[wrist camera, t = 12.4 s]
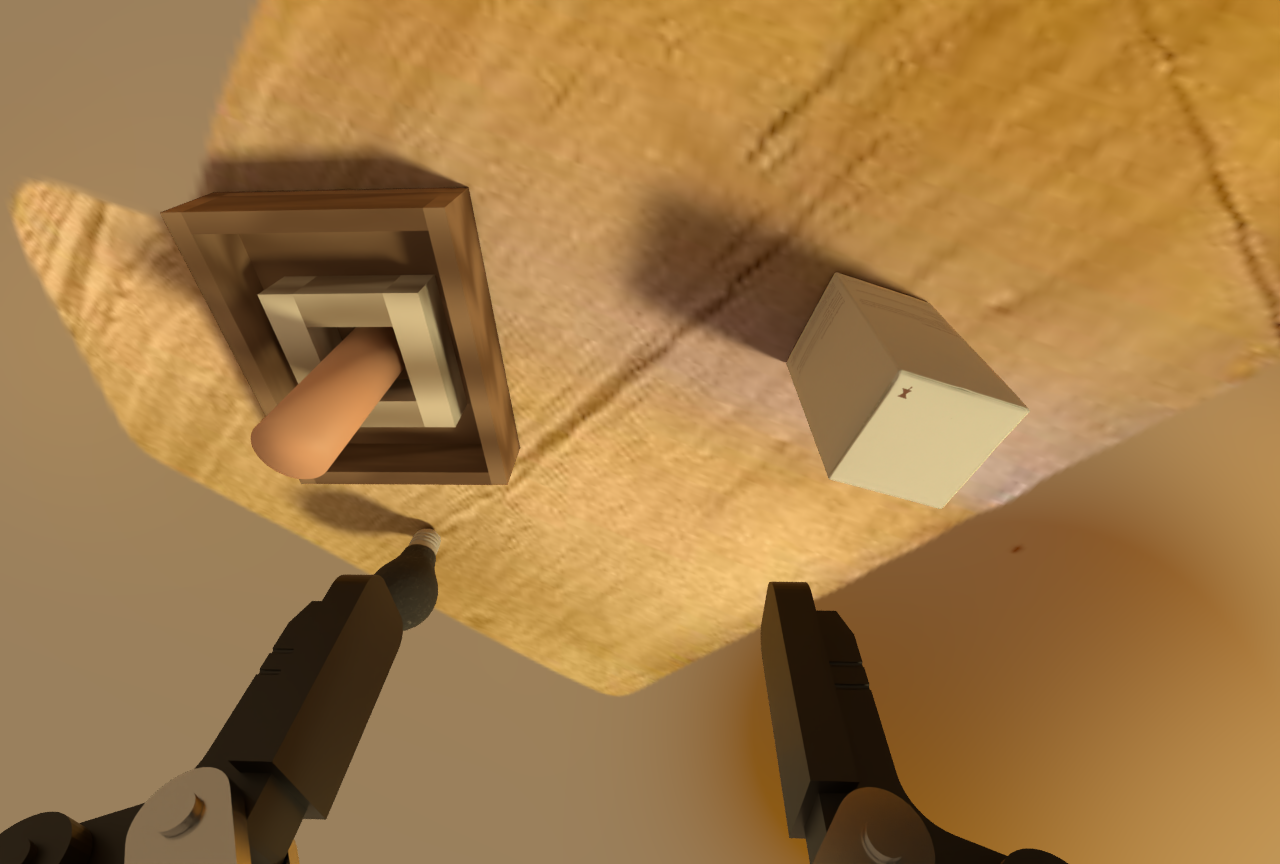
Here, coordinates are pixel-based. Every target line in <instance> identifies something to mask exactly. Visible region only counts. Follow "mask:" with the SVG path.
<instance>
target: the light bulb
mask: <svg viewBox="0 0 1280 864" xmlns="http://www.w3.org/2000/svg"><path fill="white" fill-rule="evenodd" d="M440 542H441V538H440V536H439V535H438V534H437V533H436V531H435V530H433V529H430V528H429V529H421V530H418V531H417V532H416V533H415V535H414V536H413V538H412V540H411V542H410V544H409V546H408V547H406V548H405V550H404V551H403V552H402V553H401V555H400V556H398V557H397V558H396V559H394V560H392V561H391V562H389V563H387V564H385V565H384V566H383V567H381V568H380V569H379V570H378V571H377V572H376V573H375V574H374V575H379V576H381V577H382V578H383V579H384V581H385V583H386V585H387V587H388V590H389V592H390V594H391V596H392V598H393V600H394V602H395V605H396V607H397V609H398V611H399V613H400V615H401V618H402V622H403V631H405V630H408V629H410V628H413V627H416V626H417V625H419V624H420V623H421V622H422V621H424V620H425V619H426V618H427V617H428V616H429V615H430V613H431V612H432V610H433V608H434V606H435V604H436V600H437V596H438V583H437V579H436V575H435V569H434V567H435V562H436V554H437V551H438V549H439V546H440Z"/></svg>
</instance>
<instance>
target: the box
mask: <svg viewBox="0 0 1280 864" xmlns="http://www.w3.org/2000/svg"><path fill="white" fill-rule="evenodd" d="M160 214H161V216H162V218H163V220H164V222H165V224H166V226H167V227H168V229H169V231H170V233H171V235H172V237H173V239H174V241H175V243H176V245H177V247H178V249H179V250H180V252H181V254H182V256H183V258H184V260H185V262H186V264H187V266H188V268H189V270H190V272H191V273H192V275H193V277H194V279H195V281H196V283H197V285H198V287H199V289H200V291H201V293H202V295H203V296H204V298H205V300H206V302H207V304H208V306H209V308H210V310H211V312H212V314H213V316H214V318H215V319H216V321H217V323H218V325H219V327H220V329H221V331H222V333H223V335H224V337H225V339H226V341H227V342H228V344H229V346H230V348H231V350H232V352H233V354H234V356H235V358H236V360H237V362H238V364H239V365H240V367H241V369H242V371H243V373H244V375H245V377H246V379H247V381H248V383H249V385H250V387H251V388H252V390H253V392H254V394H255V396H256V398H257V400H258V402H259V404H260V406H261V408H262V410H263V411H264V413H265V415H266V416H267V415H268V414H269V413H270V412H271V411H272V410H273V409H274V408H275V407H276V406H277V405H278V404H279V403H280V402H281V401H282V400H283V399H284V398H285V397H286V396H287V395H288V394H289V393H290V392H291V391H292V390H293V389H294V388H295V387H296V386H297V385H298V384H299V383H300V382H301V381H302V380H303V379H304V378H305V377H306V376H307V375H308V374H309V373H310V372H311V371H312V370H313V369H314V368H315V367H316V366H317V365H318V364H319V363H320V362H321V361H322V360H323V359H324V358H325V357H326V356H327V355H328V354H329V353H330V352H331V351H332V350H333V349H334V348H335V347H336V346H337V345H339V344H340V343H341V342H342V341H343V340H344V339H345V338H346V337H347V336H348V335H349V334H350V333H351V332H352V331H353V330H354V329H355V328H356V327H393V329H394V332H395V335H396V338H397V341H398V344H399V348H400V351H401V354H402V357H403V360H404V363H405V368H404V369H403V370H402V372H401V373H400V374H399V376H398V377H397V378H396V380H395V381H394V382H393V384H392V385H391V386H390V388H389V389H388V390H387V392H386V393H385V394H384V396H383V397H382V398H381V400H380V401H379V402H378V404H377V405H376V406H375V408H374V409H373V410H372V412H371V413H370V414H369V416H368V417H367V418H366V420H365V421H364V422H363V424H362V425H361V426H360V428H359V429H358V430H357V432H356V433H355V434H354V436H353V437H352V438H351V440H350V441H349V442H348V444H347V445H346V446H345V448H344V449H343V450H342V452H341V453H340V454H339V456H338V457H337V458H336V460H335V461H334V462H333V464H332V465H331V466H330V468H329V469H328V470H327V471H326V472H325V474H323V475H322V476H320V477H317V478H313V479H299V480H300V482H301V484H441V485H508V482H509V479H510V476H511V473H512V470H513V467H514V464H515V461H516V458H517V455H518V452H519V449H520V445H519V440H518V435H517V430H516V425H515V420H514V415H513V410H512V405H511V400H510V395H509V390H508V385H507V379H506V374H505V369H504V364H503V359H502V354H501V349H500V344H499V339H498V334H497V329H496V324H495V319H494V314H493V309H492V304H491V299H490V294H489V288H488V283H487V278H486V273H485V268H484V263H483V258H482V253H481V248H480V243H479V238H478V233H477V228H476V223H475V218H474V213H473V208H472V203H471V197H470V192H469V187H463V188H413V189H362V190H312V191H261V192H213V193H211V194H208V195H205V196H203V197H200V198H197V199H195V200H192V201H189V202H187V203H184V204H182V205H179V206H177V207H173V208H171V209H168V210H166V211H163V212H160Z"/></svg>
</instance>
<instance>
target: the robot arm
mask: <svg viewBox="0 0 1280 864" xmlns="http://www.w3.org/2000/svg"><path fill="white" fill-rule="evenodd" d="M402 634H403V622H402V618H401V615H400V613H399V611H398V609H397V607H396V605H395V602H394V600H393V598H392V596H391V594H390V592H389V590H388V587H387V585H386V583H385V581H384V579H383V578H382V577H381V576H379V575H341V576H339V577H338V578H337V579H336V580H335V581H334V582H333V584H332V585H331V587H330V589H329V590H328V592H327V594H326V595H325V597H324V599H323V600H322V601H312V602H311V603H310V604H309V605H308V606H306V607H305V608H304V609H303V610H302V611H301V612H300V613H299V614H298V615H297V616H296V617H294V618H293V619H292V620H291V621H290V622H289V623H288V625H287V627H286V628H285V630H284V631H283V633H282V634H281V636H280V637H279V639H278V641H277V642H276V644H275V645H274V647H273V652H272V653H270V654H269V655H268V657H267V658H266V660H265V662H264V663H263V665H262V666H261V668H260V673H259V674H258V675H256V676H255V677H254V679H253V680H252V682H251V684H250V685H249V687H248V688H247V690H246V692H245V693H244V695H243V696H242V698H241V700H240V701H239V703H238V704H237V706H236V708H235V709H234V711H233V712H232V714H231V716H230V717H229V719H228V720H227V722H226V723H225V725H224V727H223V728H222V730H221V732H220V733H219V735H218V736H217V738H216V740H215V741H214V743H213V744H212V746H211V747H210V749H209V751H208V752H207V754H206V755H205V756H204V758H203V759H202V761H201V762H200V763H199V764H198V765H197V766H196V768H195V769H193V770H190V771H187V772H185V773H183V774H181V775H179V776H177V777H175V778H174V779H172V780H170V781H169V782H168V783H166V784H165V785H164V786H162V787H161V788H160V789H159V790H157V791H156V792H155V793H154V794H153V795H152V796H151V797H150V798H149V799H148V800H147V801H146V802H145V803H143V804H140V805H137V806H134V807H131V808H127V809H124V810H121V811H117V812H114V813H111V814H108V815H104V816H101V817H98V818H95V819H92V820H88V821H85V822H82V823H78V822H76V821H74V820H73V819H71V818H69V817H68V816H66V815H64V814H62V813H59V812H45V813H40V814H37V815H34V816H31V817H29V818H26V819H24V820H22V821H20V822H18V823H16V824H14V825H13V826H11V827H10V828H8V829H6V830H5V831H3V832H2V833H1V834H0V864H300V863H299V857H298V851H297V846H296V842H295V840H294V837H295V835H296V833H297V830H298V828H299V826H300V824H301V822H302V819H326V818H327V816H328V814H329V811H330V809H331V807H332V804H333V802H334V800H335V797H336V795H337V792H338V790H339V788H340V785H341V783H342V781H343V778H344V776H345V774H346V771H347V769H348V767H349V764H350V762H351V760H352V757H353V755H354V752H355V750H356V748H357V746H358V743H359V741H360V739H361V736H362V734H363V731H364V729H365V727H366V724H367V722H368V719H369V717H370V715H371V713H372V710H373V708H374V706H375V703H376V701H377V699H378V696H379V694H380V692H381V689H382V687H383V684H384V682H385V680H386V677H387V675H388V673H389V670H390V668H391V666H392V663H393V661H394V659H395V656H396V654H397V652H398V649H399V647H400V643H401V640H402ZM761 651H762V659H763V666H764V673H765V679H766V686H767V692H768V699H769V706H770V712H771V719H772V725H773V732H774V739H775V744H776V752H777V759H778V765H779V772H780V778H781V785H782V791H783V798H784V805H785V812H786V818H787V825H788V831H789V838H805V839H806V842H807V848H808V854H809V860H810V864H1068V863H1066V862H1065V861H1063V860H1062V859H1060V858H1058V857H1056V856H1055V855H1053V854H1050V853H1048V852H1045V851H1042V850H1037V849H1021V850H1017V851H1015V852H1013V853H1011V854H1010V855H1009V856H1006V855H1003V854H1001V853H998V852H996V851H993V850H991V849H988V848H985V847H983V846H981V845H978V844H975V843H973V842H970V841H968V840H965V839H963V838H960V837H958V836H955V835H953V834H951V833H949V832H946V831H944V830H943V829H941V828H939V827H938V826H936V825H935V824H934V823H932V822H931V821H930V820H928V819H927V818H926V817H925V816H924V815H923V814H922V813H921V812H920V811H919V810H918V809H917V808H916V807H915V806H914V804H913V803H912V802H911V801H910V799H909V798H908V796H907V795H906V793H905V791H904V790H903V788H902V786H901V784H900V782H899V779H898V776H897V773H896V770H895V767H894V764H893V760H892V757H891V754H890V751H889V747H888V744H887V741H886V738H885V734H884V731H883V728H882V724H881V721H880V718H879V715H878V711H877V708H876V705H875V702H874V698H873V695H872V692H871V690H870V689H869V682H868V679H867V676H866V672H865V669H864V667H863V666H862V659H861V656H860V653H859V649H858V646H857V643H856V639H855V636H854V634H853V633H852V631H851V630H850V629H849V628H848V626H847V625H846V624H845V622H844V621H843V620H842V618H841V617H840V616H839V614H838V613H837V612H836V611H816V609H815V605H814V601H813V597H812V593H811V590H810V587H809V585H808V583H806V582H769V584H768V589H767V595H766V600H765V606H764V612H763V618H762V624H761Z"/></svg>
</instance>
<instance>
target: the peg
mask: <svg viewBox="0 0 1280 864" xmlns="http://www.w3.org/2000/svg"><path fill="white" fill-rule="evenodd" d="M404 368H405V363H404V360H403V357H402V354H401V351H400V348H399V344H398V341H397V338H396V335H395V332H394V329H393V327H356V328H355V329H354V330H353V331H352V332H351V333H350V334H349V335H348V336H347V337H346V338H345V339H344V340H343V341H342V342H341V343H340V344H339V345H337V346H336V347H335V348H334V349H333V350H332V351H331V352H330V353H329V354H328V355H327V356H326V357H325V358H324V359H323V360H322V361H321V362H320V363H319V364H318V365H317V366H316V367H315V368H314V369H313V370H312V371H311V372H310V373H309V374H308V375H307V376H306V377H305V378H304V379H303V380H302V381H301V382H300V383H299V384H298V385H297V386H296V387H295V388H294V389H293V390H292V391H291V392H290V393H289V394H288V395H287V396H286V397H285V398H284V399H283V400H282V401H281V402H280V403H279V404H278V405H277V406H276V407H275V408H274V409H273V410H272V411H271V412H270V413H269V414H268V415H267V416H266V417H265V418H264V419H263V420H262V421H261V422H260V423H259V424H258V425H257V426H256V427H255V428H254V429H253V431H252V433H251V444H252V447H253V449H254V451H255V452H256V454H257V455H258V457H259V458H260V459H261V460H262V461H263V462H264V463H265V464H266V465H268V466H269V467H270V468H272V469H274V470H275V471H277V472H279V473H281V474H283V475H286V476H289V477H292V478H297V479H313V478H317V477H320V476H322V475H323V474H325V472H326V471H327V470H328V469H329V468H330V466H331V465H332V464H333V462H334V461H335V460H336V458H337V457H338V456H339V454H340V453H341V452H342V450H343V449H344V448H345V446H346V445H347V444H348V442H349V441H350V440H351V438H352V437H353V436H354V434H355V433H356V432H357V430H358V429H359V428H360V426H361V425H362V424H363V422H364V421H365V420H366V418H367V417H368V416H369V414H370V413H371V412H372V410H373V409H374V408H375V406H376V405H377V404H378V402H379V401H380V400H381V398H382V397H383V396H384V394H385V393H386V392H387V390H388V389H389V388H390V386H391V385H392V384H393V382H394V381H395V380H396V378H397V377H398V376H399V374H400V373H401V372H402V370H403V369H404Z"/></svg>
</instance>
